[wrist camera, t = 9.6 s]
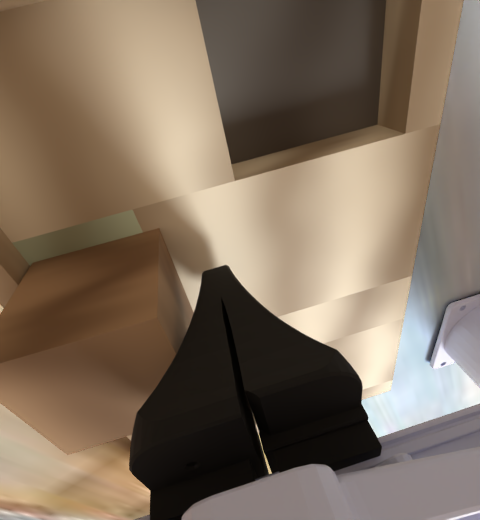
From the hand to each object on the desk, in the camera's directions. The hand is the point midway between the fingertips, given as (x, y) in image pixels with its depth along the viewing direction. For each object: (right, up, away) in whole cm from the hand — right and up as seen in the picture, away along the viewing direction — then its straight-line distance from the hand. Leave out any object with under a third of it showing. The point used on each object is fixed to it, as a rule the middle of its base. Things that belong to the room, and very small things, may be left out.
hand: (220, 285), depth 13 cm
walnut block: (-4, 0, 0) cm, 4 cm away
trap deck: (+1, 0, +4) cm, 4 cm away
